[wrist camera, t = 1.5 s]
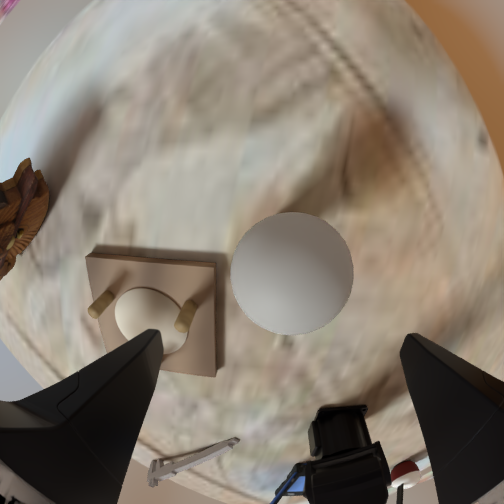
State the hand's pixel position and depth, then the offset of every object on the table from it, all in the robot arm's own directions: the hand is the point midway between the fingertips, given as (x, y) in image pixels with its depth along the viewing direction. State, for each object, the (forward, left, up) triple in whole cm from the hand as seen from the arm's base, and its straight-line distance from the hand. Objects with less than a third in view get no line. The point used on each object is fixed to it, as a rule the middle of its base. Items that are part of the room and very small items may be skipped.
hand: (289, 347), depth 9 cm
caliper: (+9, +36, -14) cm, 39 cm away
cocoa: (-32, +46, -13) cm, 57 cm away
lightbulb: (-1, 0, -13) cm, 13 cm away
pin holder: (+10, +9, -13) cm, 19 cm away
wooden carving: (+24, 0, -13) cm, 28 cm away
